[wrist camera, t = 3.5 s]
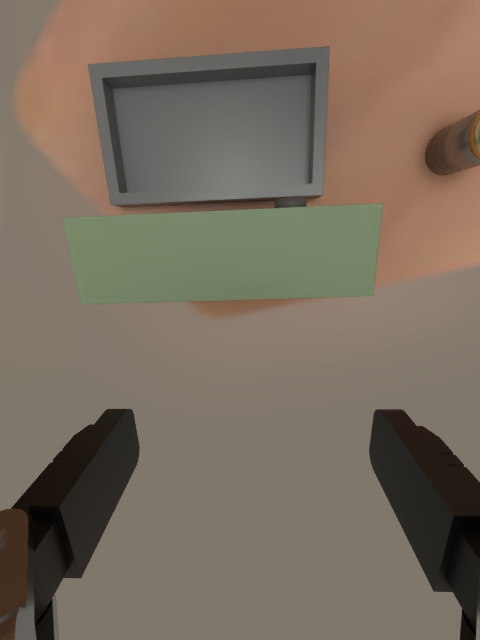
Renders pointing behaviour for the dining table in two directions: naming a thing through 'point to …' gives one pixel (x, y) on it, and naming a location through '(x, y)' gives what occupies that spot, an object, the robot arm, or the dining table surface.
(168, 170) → the parts tray
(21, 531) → the robot arm
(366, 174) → the dining table surface
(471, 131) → the pin
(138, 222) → the control unit
